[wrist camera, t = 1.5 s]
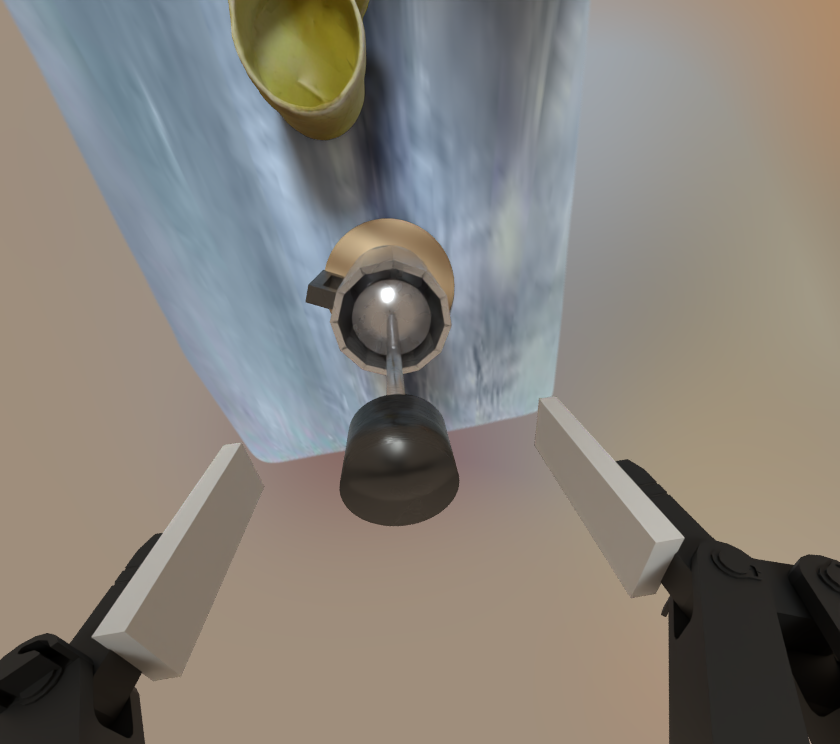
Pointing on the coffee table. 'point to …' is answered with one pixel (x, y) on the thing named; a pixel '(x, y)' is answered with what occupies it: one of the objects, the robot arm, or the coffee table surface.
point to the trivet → (397, 235)
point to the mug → (305, 59)
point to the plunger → (396, 420)
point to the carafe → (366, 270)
